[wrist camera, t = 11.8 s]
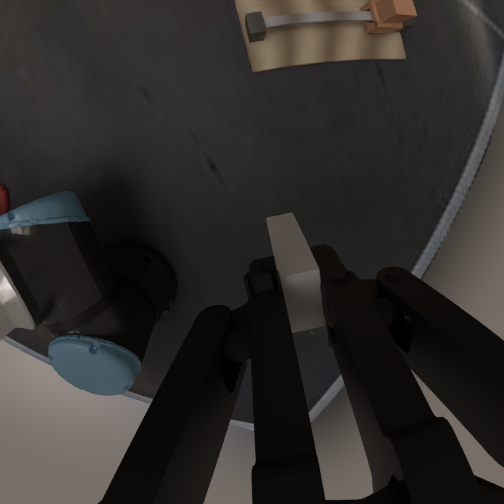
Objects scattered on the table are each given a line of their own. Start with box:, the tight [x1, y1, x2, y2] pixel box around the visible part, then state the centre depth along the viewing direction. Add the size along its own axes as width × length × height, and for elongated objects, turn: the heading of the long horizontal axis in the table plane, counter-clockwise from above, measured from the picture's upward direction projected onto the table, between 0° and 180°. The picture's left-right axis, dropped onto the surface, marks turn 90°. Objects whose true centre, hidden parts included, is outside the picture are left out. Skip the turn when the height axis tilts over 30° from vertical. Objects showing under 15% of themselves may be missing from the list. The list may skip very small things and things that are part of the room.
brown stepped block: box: [360, 0, 417, 33], centre depth 28 cm, size 4×4×9 cm
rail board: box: [235, 0, 414, 73], centre depth 32 cm, size 24×12×6 cm, turn 102°
